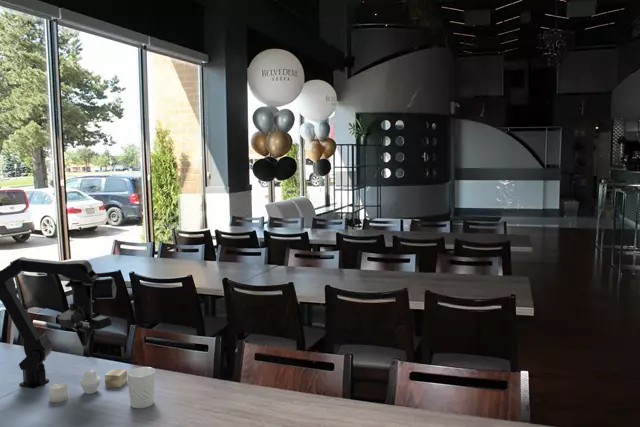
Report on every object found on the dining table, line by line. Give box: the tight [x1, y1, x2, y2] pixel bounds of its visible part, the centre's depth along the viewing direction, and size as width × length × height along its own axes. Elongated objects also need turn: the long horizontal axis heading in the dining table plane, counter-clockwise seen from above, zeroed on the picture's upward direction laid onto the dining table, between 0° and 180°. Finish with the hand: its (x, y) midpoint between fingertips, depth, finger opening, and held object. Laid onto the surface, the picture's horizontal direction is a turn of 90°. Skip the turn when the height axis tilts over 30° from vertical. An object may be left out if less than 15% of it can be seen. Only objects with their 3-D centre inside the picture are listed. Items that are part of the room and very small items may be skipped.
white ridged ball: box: [79, 369, 102, 395], centre depth 179 cm, size 6×6×7 cm
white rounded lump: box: [48, 382, 69, 404], centre depth 174 cm, size 5×5×4 cm
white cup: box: [127, 366, 156, 409], centre depth 170 cm, size 8×8×10 cm
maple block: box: [104, 368, 128, 388], centre depth 185 cm, size 5×5×4 cm
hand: (84, 345), depth 187 cm, fingers closed
